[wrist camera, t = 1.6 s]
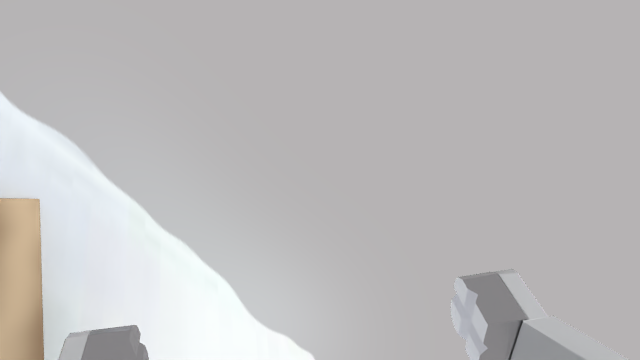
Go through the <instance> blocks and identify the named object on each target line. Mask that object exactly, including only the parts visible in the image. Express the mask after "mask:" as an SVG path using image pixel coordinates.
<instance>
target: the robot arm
mask: <svg viewBox="0 0 640 360" xmlns="http://www.w3.org/2000/svg"><path fill="white" fill-rule="evenodd" d="M454 289H455V290H456V292H457V294H456V295H455V296H454V298H453V299H452V301H451V316H452V320H453V324H454V326H455V329H456V331H457V333H458V335H460V336H461V337H462V338H464V339H465V340H467V343H466V348H465V350H466V352H467V354H468V356H469V358H470V360H629V359H627V358H626V357H624V356H622V355H621V354H619V353H617V352H615V351H614V350H612V349H610V348H609V347H607V346H605V345H603V344H602V343H600V342H598V341H596V340H595V339H593V338H591V337H590V336H588V335H586V334H584V333H583V332H581V331H579V330H577V329H576V328H574V327H572V326H571V325H569V324H567V323H565V322H564V321H562V320H560V319H558V318H557V317H555V316H548V315H547V314H546V312H545V311H544V310H543V308H542V307H541V305H540V304H539V303H538V301H537V300H536V298H535V297H534V296H533V294H532V293H531V291H530V290H529V288H528V287H527V286H526V284H525V283H524V281H523V280H522V279H521V277H520V276H519V275H518V273H517V272H516V271H515V270H513V269H509V270H503V271H496V272H487V273H482V274H476V275H469V276H462V277H458V278H457V279H456V281H455V285H454ZM139 340H140V332H139V329H138V327H137V325H131V326H123V327H115V328H107V329H98V330H91V331H84V332H76V333H70V334H69V335H68V337H67V338H66V339H65V342H64V345H63V348H62V351H61V354H60V357H59V360H149V358H148V353H147V350H146V347H145V345H143V344H141V343H139Z"/></svg>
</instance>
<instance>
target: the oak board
mask: <svg viewBox="0 0 640 360" xmlns="http://www.w3.org/2000/svg"><path fill="white" fill-rule="evenodd" d="M0 360H44V347H43V310H42V274H41V237H40V201H39V199H2V198H0Z"/></svg>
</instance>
